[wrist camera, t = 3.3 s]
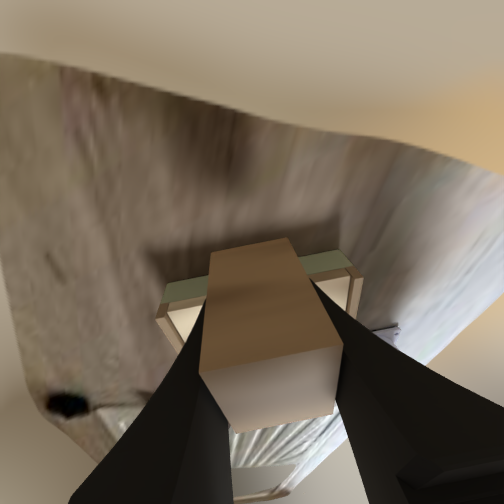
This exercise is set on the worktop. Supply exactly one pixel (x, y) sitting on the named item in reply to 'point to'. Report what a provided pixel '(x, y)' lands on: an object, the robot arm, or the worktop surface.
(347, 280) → the lid
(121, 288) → the worktop surface
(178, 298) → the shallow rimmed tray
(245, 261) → the block
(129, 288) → the worktop surface
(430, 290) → the worktop surface
